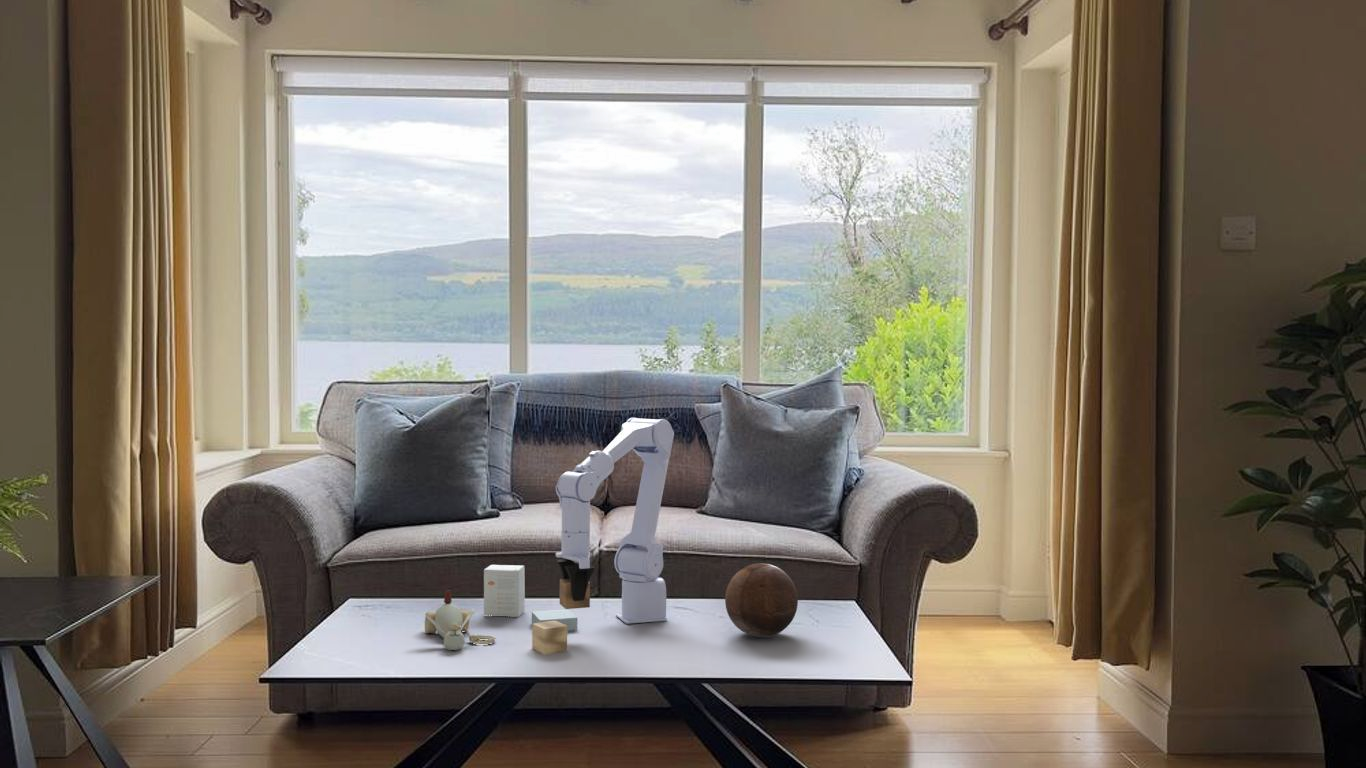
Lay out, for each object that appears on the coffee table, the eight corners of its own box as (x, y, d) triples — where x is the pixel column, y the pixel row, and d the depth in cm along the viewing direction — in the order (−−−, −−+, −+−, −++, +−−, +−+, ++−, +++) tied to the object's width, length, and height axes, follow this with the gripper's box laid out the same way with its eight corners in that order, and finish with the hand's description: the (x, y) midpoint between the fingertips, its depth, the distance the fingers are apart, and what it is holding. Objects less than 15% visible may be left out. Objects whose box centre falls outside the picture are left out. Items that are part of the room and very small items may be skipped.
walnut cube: (583, 601, 218) (583, 577, 218) (589, 607, 214) (589, 582, 214) (559, 603, 217) (559, 579, 217) (565, 609, 212) (565, 584, 212)
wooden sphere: (811, 636, 220) (812, 564, 219) (766, 650, 209) (767, 574, 208) (755, 623, 230) (756, 554, 230) (709, 635, 219) (710, 563, 219)
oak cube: (554, 645, 210) (555, 620, 210) (567, 651, 206) (567, 625, 206) (532, 648, 207) (532, 623, 207) (544, 655, 203) (544, 629, 203)
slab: (568, 622, 230) (568, 608, 230) (577, 631, 222) (577, 617, 222) (531, 625, 227) (531, 611, 227) (539, 634, 219) (540, 620, 219)
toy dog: (445, 655, 203) (446, 609, 202) (403, 635, 217) (403, 591, 217) (502, 645, 210) (502, 600, 210) (457, 626, 225) (458, 584, 225)
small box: (525, 611, 237) (525, 565, 237) (518, 617, 232) (519, 570, 231) (490, 610, 238) (490, 564, 238) (483, 616, 232) (483, 568, 232)
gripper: (548, 526, 220) (547, 591, 221) (565, 537, 207) (564, 606, 207) (580, 524, 223) (580, 588, 223) (600, 535, 209) (599, 604, 210)
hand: (575, 597), depth 215 cm, fingers closed on walnut cube, 5 cm apart
